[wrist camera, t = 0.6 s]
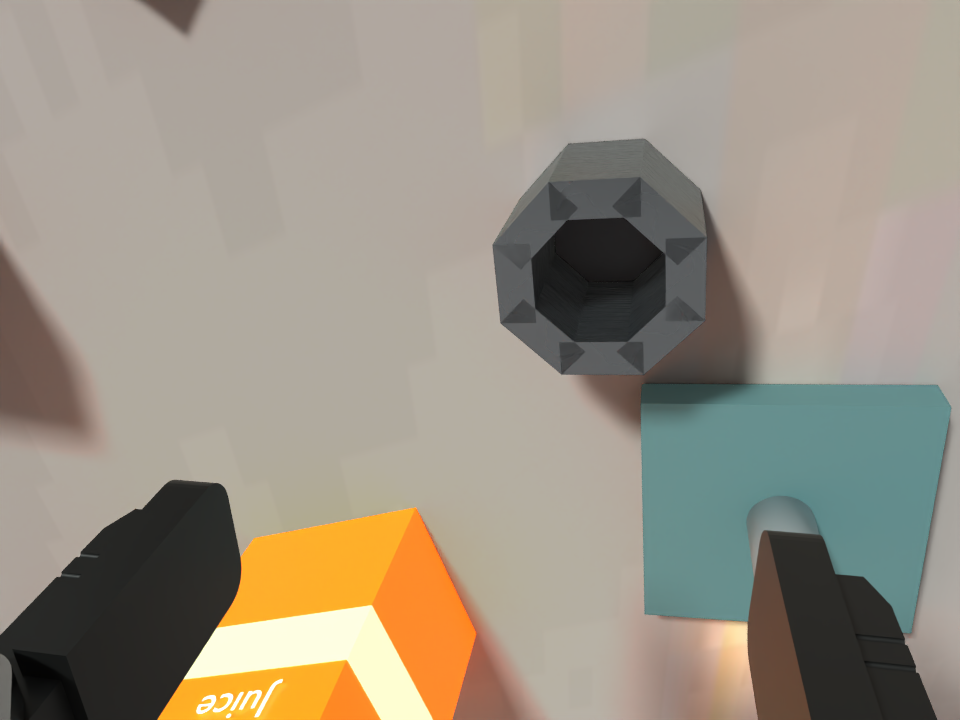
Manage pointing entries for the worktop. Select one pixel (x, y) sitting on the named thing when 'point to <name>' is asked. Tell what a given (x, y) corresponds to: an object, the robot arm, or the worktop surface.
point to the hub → (604, 305)
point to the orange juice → (335, 630)
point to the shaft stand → (785, 486)
